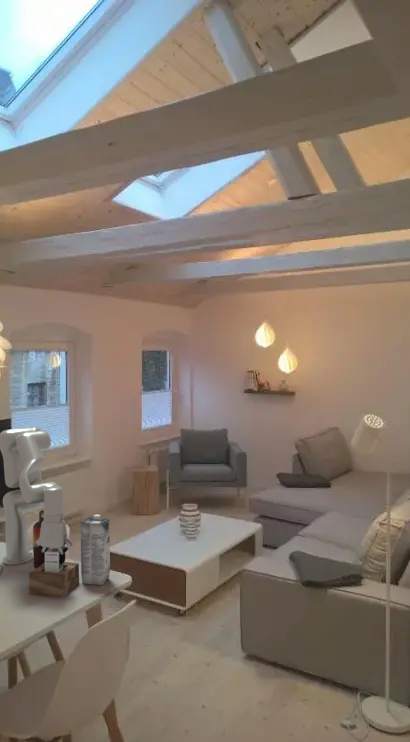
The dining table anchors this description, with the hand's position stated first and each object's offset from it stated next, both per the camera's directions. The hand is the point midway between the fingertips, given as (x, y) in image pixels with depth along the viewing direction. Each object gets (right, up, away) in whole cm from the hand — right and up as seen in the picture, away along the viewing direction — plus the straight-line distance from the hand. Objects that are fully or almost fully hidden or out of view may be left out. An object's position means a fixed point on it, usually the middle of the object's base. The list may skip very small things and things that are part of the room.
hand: (54, 561), depth 219 cm
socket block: (0, -11, 0) cm, 11 cm away
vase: (-8, -10, +17) cm, 21 cm away
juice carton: (+15, -11, +7) cm, 20 cm away
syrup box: (0, -10, 0) cm, 10 cm away
